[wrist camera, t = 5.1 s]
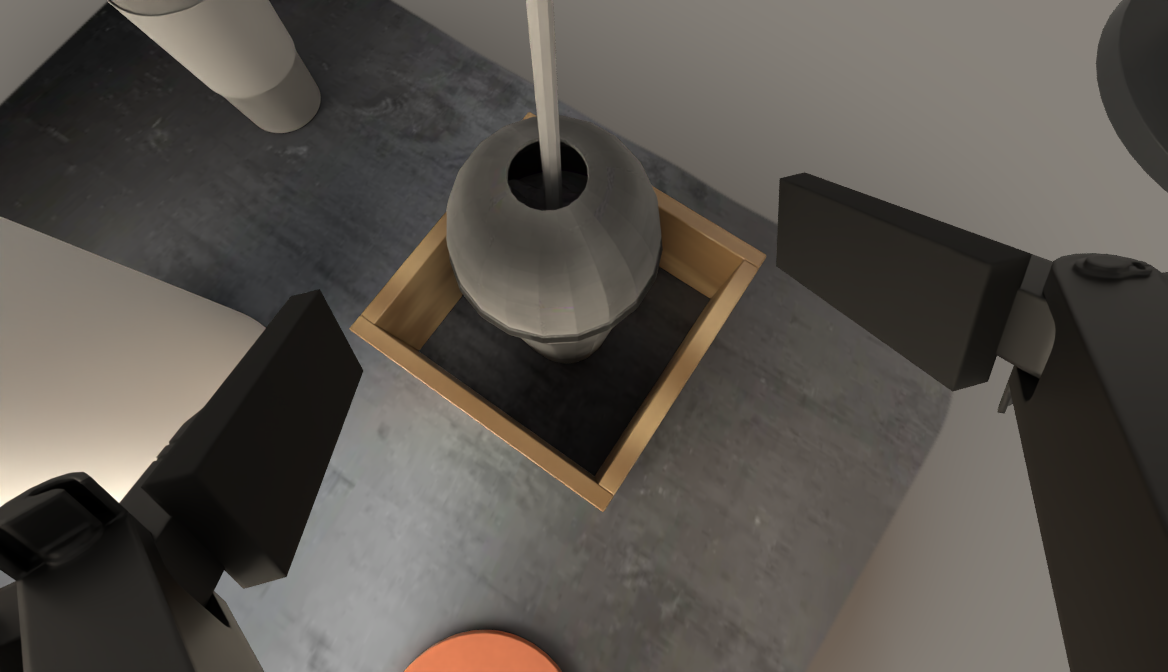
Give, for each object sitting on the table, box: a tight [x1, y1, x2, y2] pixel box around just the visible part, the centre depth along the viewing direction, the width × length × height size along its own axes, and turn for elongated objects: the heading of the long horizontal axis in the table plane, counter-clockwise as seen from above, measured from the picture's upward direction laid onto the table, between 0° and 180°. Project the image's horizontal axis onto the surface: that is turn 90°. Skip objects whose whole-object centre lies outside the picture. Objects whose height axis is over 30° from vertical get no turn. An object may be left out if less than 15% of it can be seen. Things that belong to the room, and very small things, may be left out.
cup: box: [107, 0, 321, 133], centre depth 25 cm, size 7×7×12 cm
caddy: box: [350, 112, 766, 512], centre depth 24 cm, size 14×14×6 cm
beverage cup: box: [446, 0, 663, 363], centre depth 18 cm, size 7×7×20 cm
